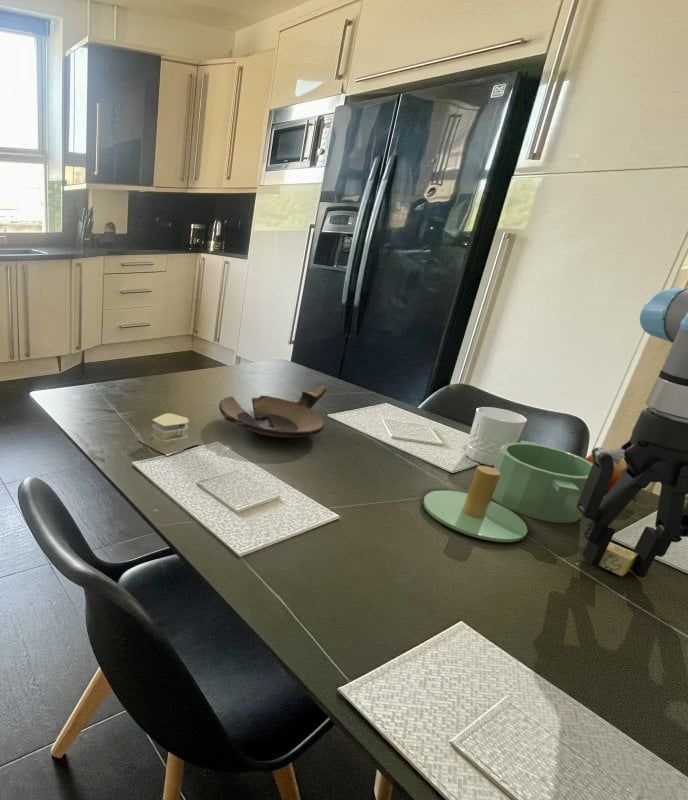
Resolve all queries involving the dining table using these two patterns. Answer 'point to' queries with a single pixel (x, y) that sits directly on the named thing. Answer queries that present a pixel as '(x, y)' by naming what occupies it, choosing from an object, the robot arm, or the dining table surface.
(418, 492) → the dining table surface
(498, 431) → the white cup
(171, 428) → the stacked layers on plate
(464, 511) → the lid
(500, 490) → the pot
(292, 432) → the broken brown bowl
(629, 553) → the alphabet block
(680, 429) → the robot arm
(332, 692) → the dining table surface
